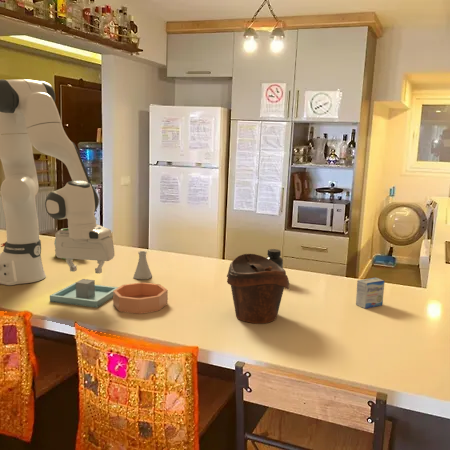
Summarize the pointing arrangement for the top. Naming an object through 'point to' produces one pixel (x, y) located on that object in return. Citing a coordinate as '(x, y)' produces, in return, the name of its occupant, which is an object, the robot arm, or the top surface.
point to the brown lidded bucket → (256, 287)
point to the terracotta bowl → (140, 297)
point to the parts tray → (95, 301)
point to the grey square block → (85, 288)
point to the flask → (142, 267)
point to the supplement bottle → (275, 256)
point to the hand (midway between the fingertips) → (86, 272)
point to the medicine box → (370, 293)
